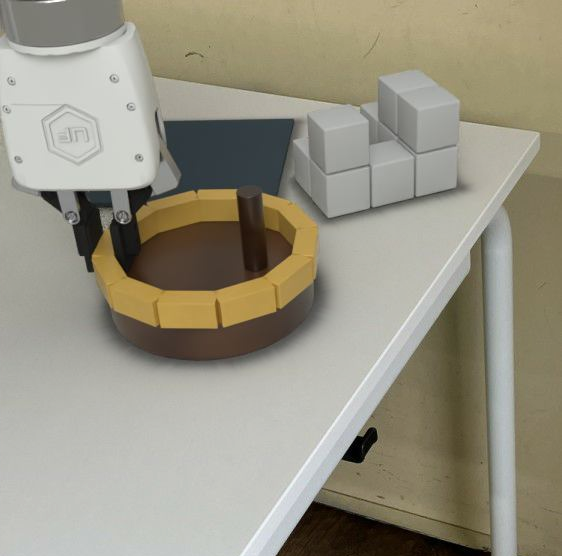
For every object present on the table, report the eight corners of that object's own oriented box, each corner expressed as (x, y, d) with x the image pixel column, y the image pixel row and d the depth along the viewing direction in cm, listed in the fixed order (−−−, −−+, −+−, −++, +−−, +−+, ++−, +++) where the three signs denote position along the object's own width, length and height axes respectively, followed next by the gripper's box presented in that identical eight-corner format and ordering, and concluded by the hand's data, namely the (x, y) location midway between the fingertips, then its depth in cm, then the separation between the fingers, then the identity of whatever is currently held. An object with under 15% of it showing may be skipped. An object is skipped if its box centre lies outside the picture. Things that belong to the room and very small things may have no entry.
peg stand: (89, 359, 71) (63, 248, 65) (136, 247, 82) (118, 145, 77) (304, 361, 69) (297, 247, 63) (322, 246, 80) (316, 142, 75)
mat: (83, 206, 89) (82, 202, 88) (127, 125, 102) (126, 121, 102) (274, 205, 86) (274, 201, 86) (294, 122, 100) (293, 118, 99)
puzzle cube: (397, 135, 96) (398, 53, 91) (457, 188, 87) (461, 100, 82) (279, 161, 93) (272, 78, 88) (327, 219, 84) (324, 130, 79)
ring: (73, 327, 68) (68, 303, 67) (127, 212, 81) (123, 189, 80) (307, 329, 66) (306, 304, 65) (325, 210, 79) (324, 187, 78)
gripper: (-79, 36, 61) (-6, 290, 73) (174, 28, 59) (208, 291, 71) (-36, -4, 67) (26, 237, 78) (196, -12, 65) (225, 236, 76)
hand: (112, 261), depth 74 cm, fingers closed on ring, 1 cm apart
